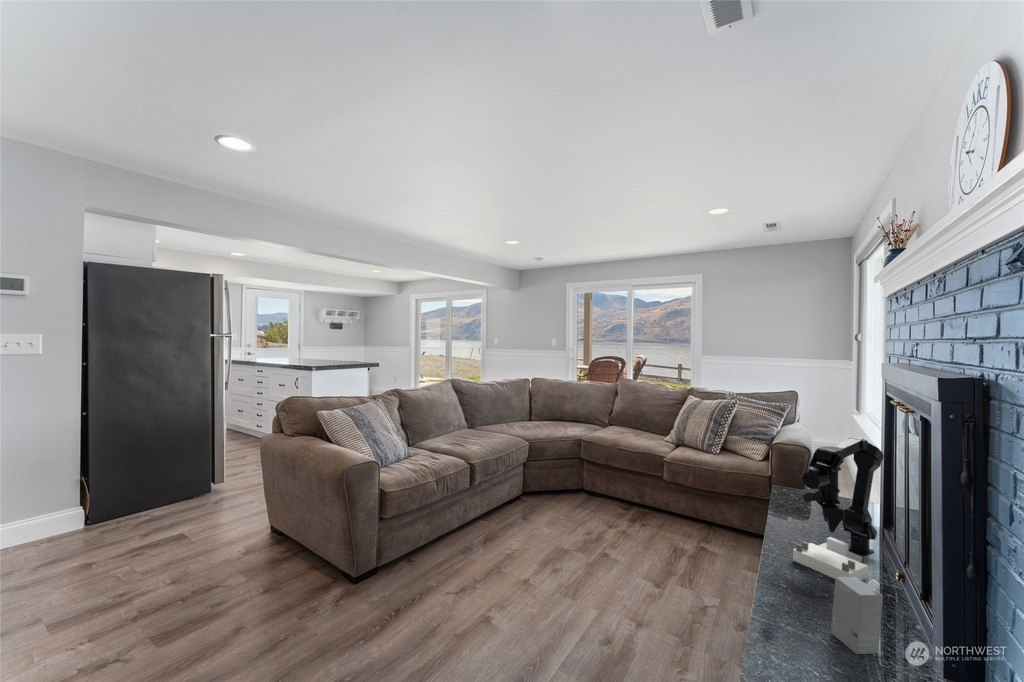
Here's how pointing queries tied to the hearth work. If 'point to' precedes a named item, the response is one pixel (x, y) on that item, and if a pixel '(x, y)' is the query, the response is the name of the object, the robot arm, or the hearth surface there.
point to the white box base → (828, 562)
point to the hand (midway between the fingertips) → (829, 526)
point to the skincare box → (856, 615)
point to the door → (840, 548)
